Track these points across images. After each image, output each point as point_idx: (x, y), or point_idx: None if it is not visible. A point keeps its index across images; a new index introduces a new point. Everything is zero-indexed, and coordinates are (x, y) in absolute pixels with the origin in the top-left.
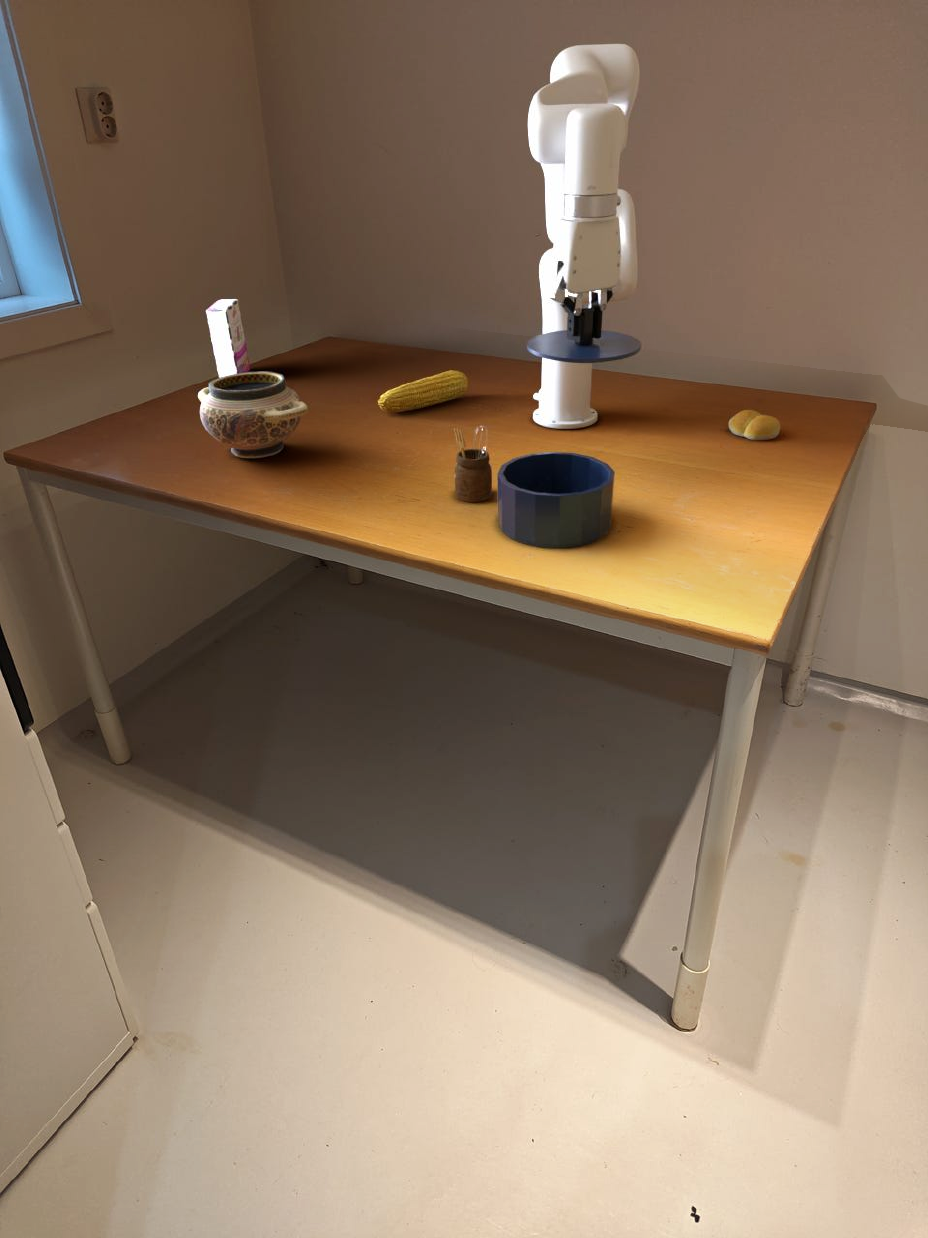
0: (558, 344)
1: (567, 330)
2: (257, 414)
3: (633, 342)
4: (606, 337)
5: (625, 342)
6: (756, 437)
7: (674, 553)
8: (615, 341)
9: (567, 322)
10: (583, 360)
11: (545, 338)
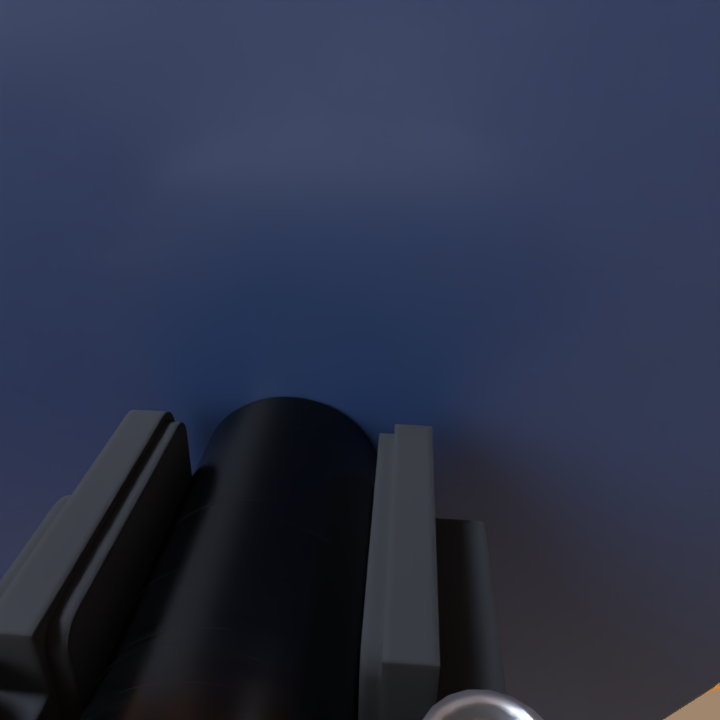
0: (55, 358)
1: (49, 521)
2: None
3: (639, 681)
4: (622, 461)
5: (592, 651)
6: None
7: None
8: (560, 589)
9: (2, 582)
10: None
11: (37, 52)
